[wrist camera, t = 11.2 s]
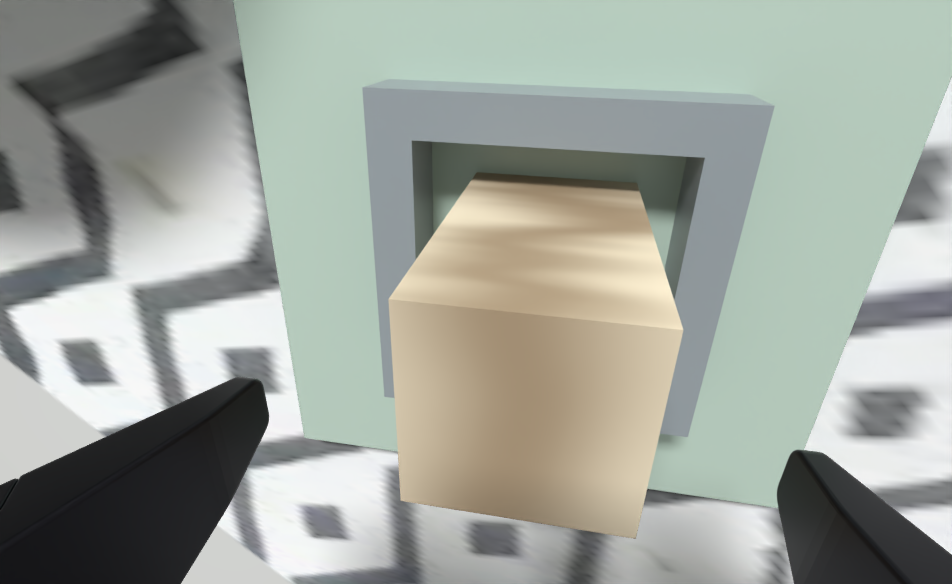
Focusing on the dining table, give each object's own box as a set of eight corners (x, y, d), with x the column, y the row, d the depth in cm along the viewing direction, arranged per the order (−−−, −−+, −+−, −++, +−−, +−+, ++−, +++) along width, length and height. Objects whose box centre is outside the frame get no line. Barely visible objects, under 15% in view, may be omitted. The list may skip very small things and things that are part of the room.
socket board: (997, -112, 12) (1116, -150, 9) (771, 486, 20) (800, 558, 17) (237, -104, 14) (159, -131, 12) (315, 421, 23) (279, 474, 20)
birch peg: (636, 182, 15) (683, 330, 8) (614, 322, 17) (635, 538, 10) (477, 172, 16) (388, 298, 9) (474, 308, 18) (400, 500, 11)
